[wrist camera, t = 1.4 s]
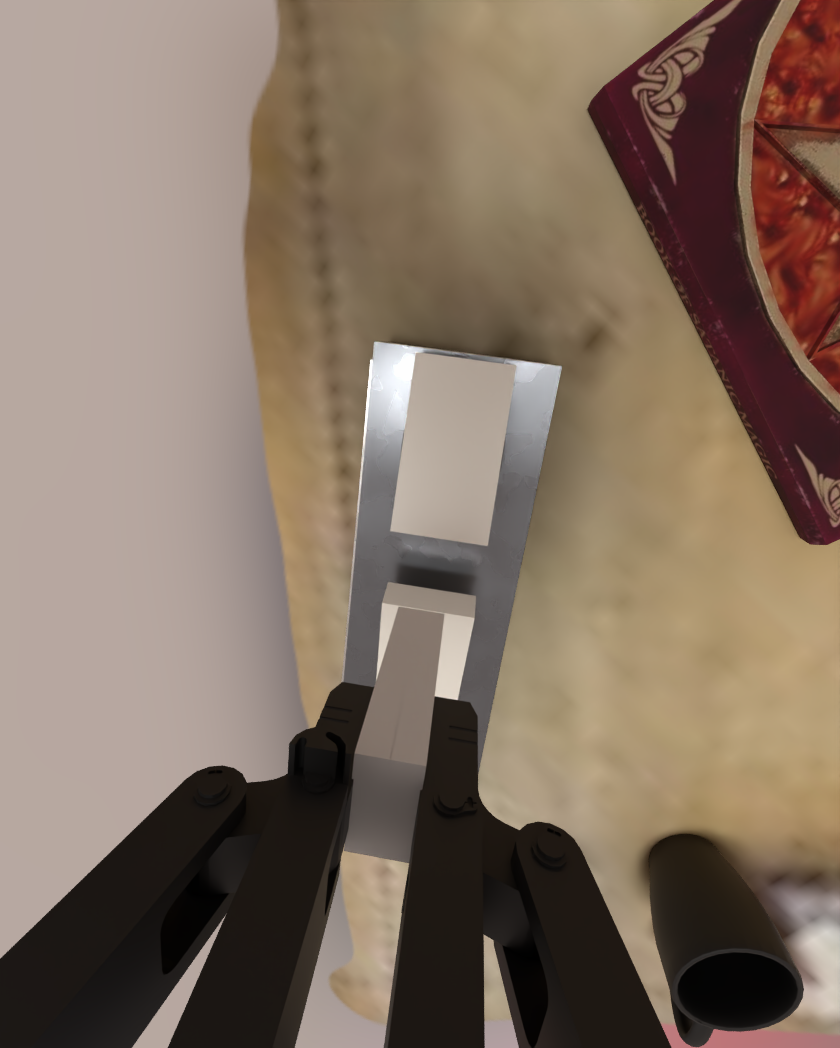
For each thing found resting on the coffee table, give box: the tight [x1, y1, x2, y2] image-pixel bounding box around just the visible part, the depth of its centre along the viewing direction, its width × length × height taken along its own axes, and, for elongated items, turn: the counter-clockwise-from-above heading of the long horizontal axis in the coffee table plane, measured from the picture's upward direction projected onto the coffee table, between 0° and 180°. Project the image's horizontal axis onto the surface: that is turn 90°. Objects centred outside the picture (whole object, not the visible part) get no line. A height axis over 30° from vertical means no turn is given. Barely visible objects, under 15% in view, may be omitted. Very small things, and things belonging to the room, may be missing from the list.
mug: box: [649, 834, 804, 1047], centre depth 40 cm, size 8×12×10 cm
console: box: [342, 341, 562, 772], centre depth 36 cm, size 34×10×5 cm, turn 173°
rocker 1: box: [390, 352, 517, 546], centre depth 28 cm, size 9×5×3 cm, turn 173°
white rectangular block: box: [376, 582, 476, 700], centre depth 32 cm, size 9×5×3 cm, turn 173°
